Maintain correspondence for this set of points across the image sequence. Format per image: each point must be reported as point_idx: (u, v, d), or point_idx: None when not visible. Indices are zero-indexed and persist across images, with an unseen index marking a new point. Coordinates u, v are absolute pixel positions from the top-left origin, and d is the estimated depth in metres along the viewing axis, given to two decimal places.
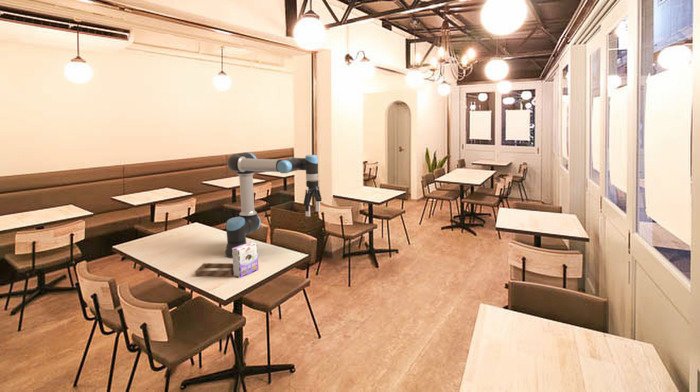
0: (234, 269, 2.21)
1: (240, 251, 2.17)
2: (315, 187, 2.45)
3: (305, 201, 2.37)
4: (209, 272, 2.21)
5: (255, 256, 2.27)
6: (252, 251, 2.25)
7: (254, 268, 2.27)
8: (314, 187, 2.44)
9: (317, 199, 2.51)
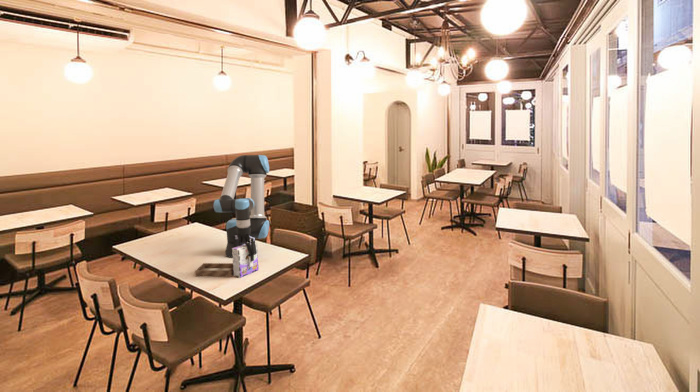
0: (234, 269, 2.21)
1: (240, 251, 2.17)
2: (246, 235, 2.20)
3: None
4: (209, 272, 2.21)
5: (255, 256, 2.27)
6: None
7: (254, 268, 2.27)
8: None
9: None
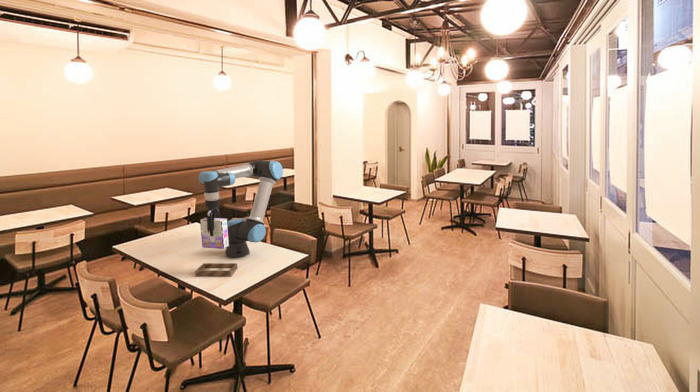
0: None
1: (202, 221, 2.20)
2: (209, 208, 2.17)
3: None
4: (209, 272, 2.21)
5: (220, 234, 2.18)
6: (216, 226, 2.18)
7: (218, 245, 2.20)
8: None
9: None
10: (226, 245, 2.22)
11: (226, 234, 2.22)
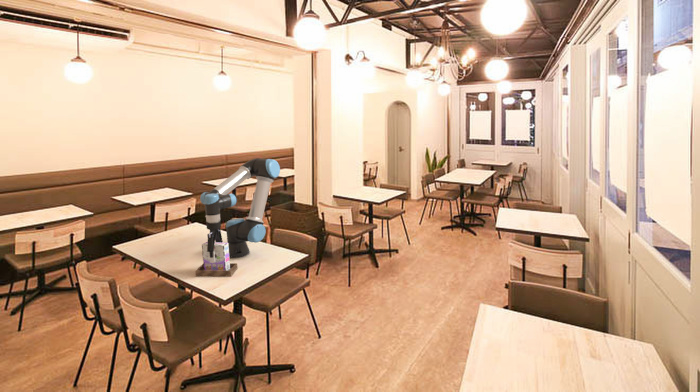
0: None
1: (204, 246, 2.23)
2: None
3: None
4: (209, 272, 2.21)
5: (222, 258, 2.22)
6: (217, 251, 2.21)
7: (219, 269, 2.23)
8: None
9: None
10: (228, 269, 2.26)
11: (228, 258, 2.25)
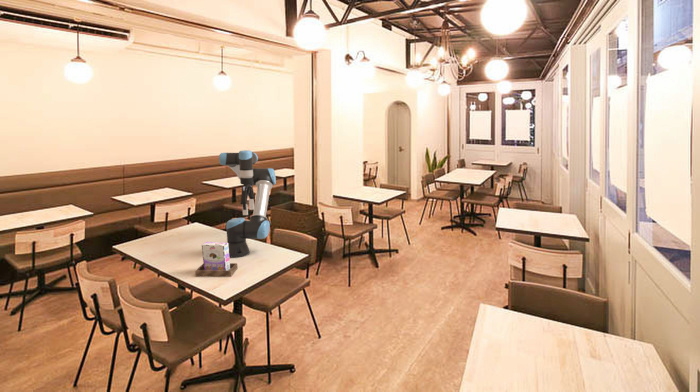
0: None
1: (204, 246, 2.23)
2: (244, 185, 2.31)
3: None
4: (209, 272, 2.21)
5: (222, 258, 2.22)
6: (217, 251, 2.21)
7: (219, 269, 2.23)
8: None
9: None
10: (228, 269, 2.26)
11: (228, 258, 2.25)
